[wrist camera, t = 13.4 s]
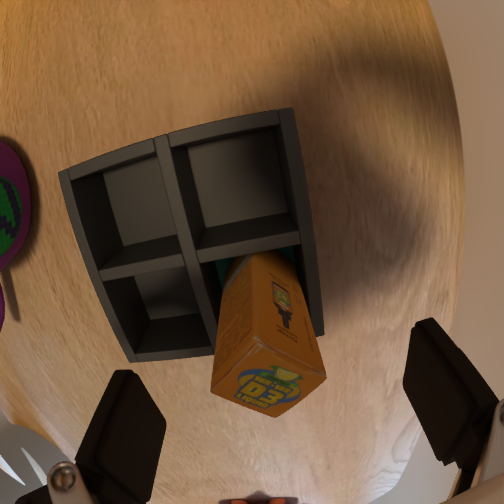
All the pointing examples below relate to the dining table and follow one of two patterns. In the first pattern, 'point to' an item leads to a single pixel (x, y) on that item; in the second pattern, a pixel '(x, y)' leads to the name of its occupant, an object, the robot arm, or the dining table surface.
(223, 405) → the dining table surface
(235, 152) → the rack
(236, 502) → the teapot
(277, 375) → the supplement box
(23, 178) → the mug
